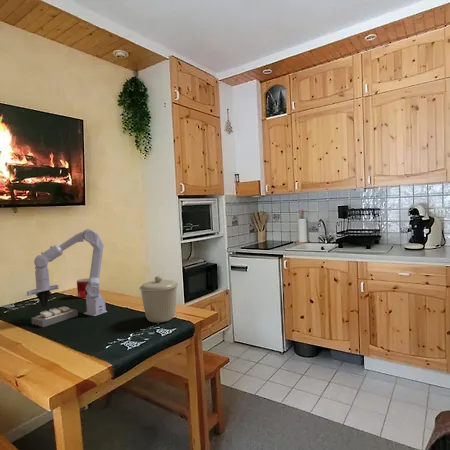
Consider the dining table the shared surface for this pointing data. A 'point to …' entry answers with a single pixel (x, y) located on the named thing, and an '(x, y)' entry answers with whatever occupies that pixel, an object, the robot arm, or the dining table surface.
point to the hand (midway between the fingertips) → (44, 306)
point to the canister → (159, 299)
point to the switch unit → (54, 318)
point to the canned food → (82, 288)
